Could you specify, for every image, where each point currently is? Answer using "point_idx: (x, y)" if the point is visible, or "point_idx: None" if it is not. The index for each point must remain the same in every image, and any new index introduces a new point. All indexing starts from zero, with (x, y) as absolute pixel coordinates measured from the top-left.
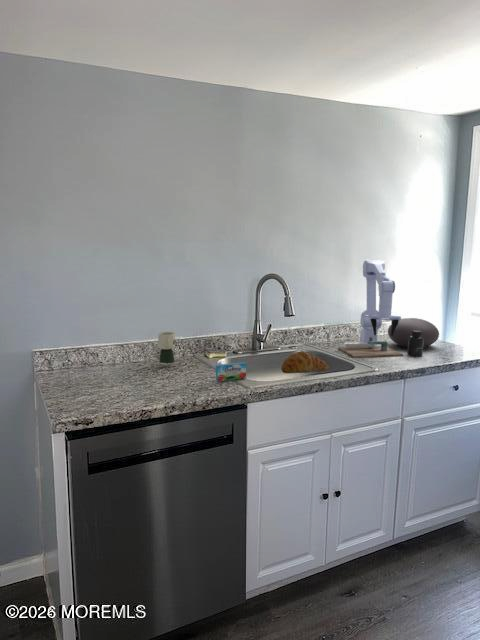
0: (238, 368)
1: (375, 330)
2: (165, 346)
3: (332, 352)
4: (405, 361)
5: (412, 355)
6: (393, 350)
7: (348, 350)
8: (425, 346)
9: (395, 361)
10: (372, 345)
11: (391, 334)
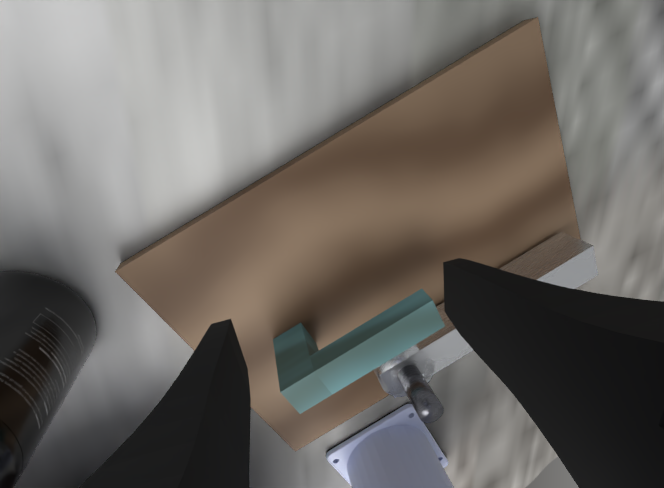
0: None
1: (500, 279)
2: None
3: (632, 154)
4: (47, 48)
5: (24, 274)
6: None
7: (544, 203)
8: None
9: (150, 5)
10: None
11: (228, 327)
